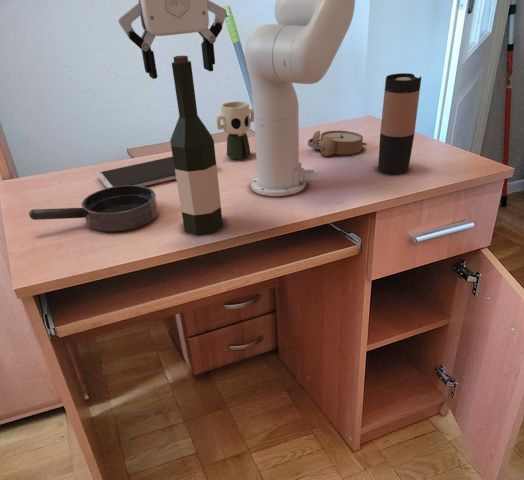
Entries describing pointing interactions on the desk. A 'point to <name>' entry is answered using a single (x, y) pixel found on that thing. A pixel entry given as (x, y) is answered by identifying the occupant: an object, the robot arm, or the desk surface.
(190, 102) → the wine bottle
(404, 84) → the travel mug
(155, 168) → the smartphone
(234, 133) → the character mug
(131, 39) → the robot arm
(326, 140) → the alarm clock
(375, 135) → the desk surface
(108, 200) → the pan
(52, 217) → the pan handle
